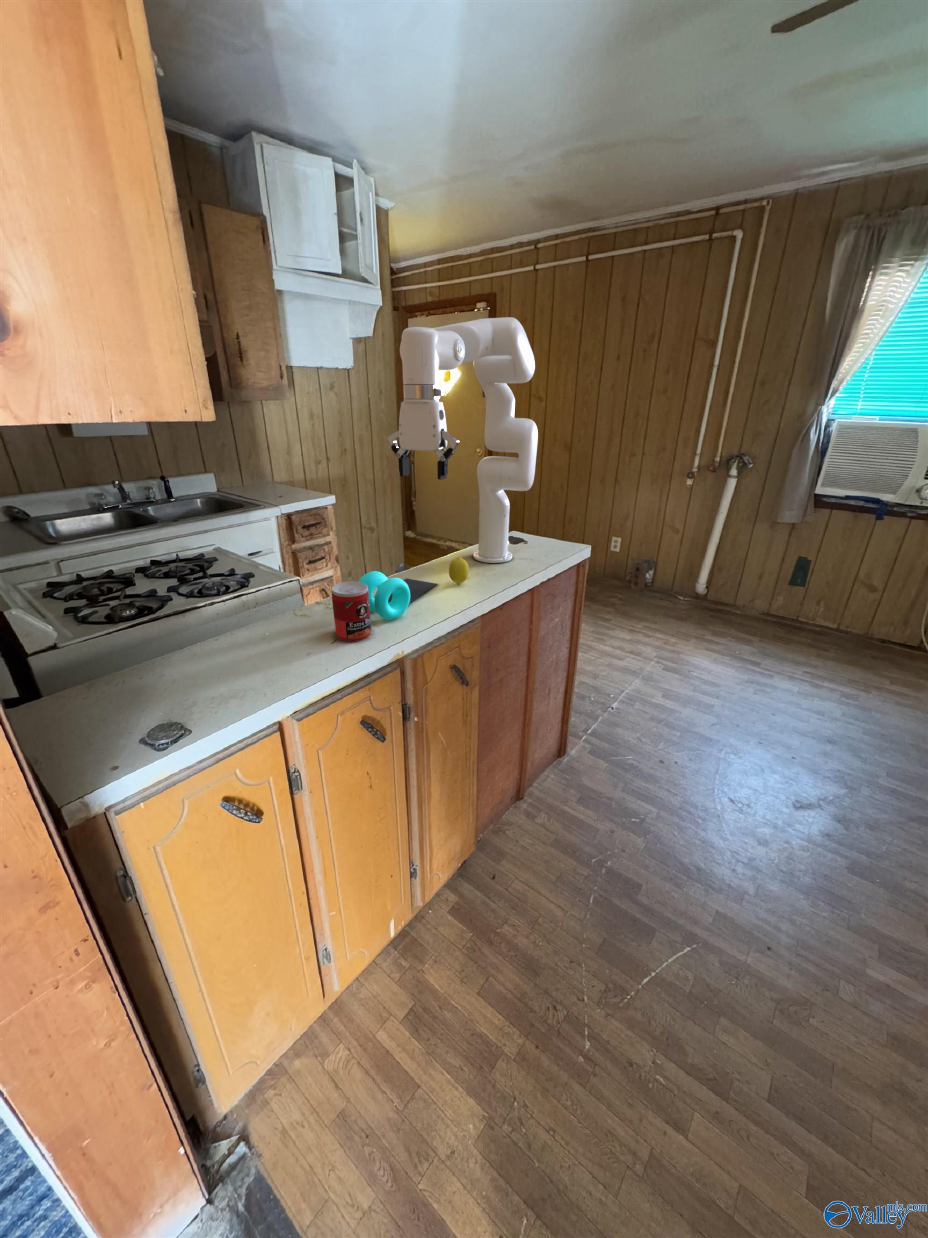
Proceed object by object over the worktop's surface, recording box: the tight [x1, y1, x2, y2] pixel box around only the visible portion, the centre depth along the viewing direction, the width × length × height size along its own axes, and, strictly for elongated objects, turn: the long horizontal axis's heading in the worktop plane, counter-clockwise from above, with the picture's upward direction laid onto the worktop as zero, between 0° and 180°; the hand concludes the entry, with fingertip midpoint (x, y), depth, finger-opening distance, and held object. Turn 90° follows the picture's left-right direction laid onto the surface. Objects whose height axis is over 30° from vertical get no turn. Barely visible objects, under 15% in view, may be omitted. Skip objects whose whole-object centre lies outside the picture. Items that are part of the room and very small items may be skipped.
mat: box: [388, 578, 439, 605], centre depth 134 cm, size 18×10×1 cm, turn 155°
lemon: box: [448, 556, 470, 586], centre depth 138 cm, size 6×6×8 cm
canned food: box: [330, 580, 372, 642], centre depth 108 cm, size 8×8×11 cm
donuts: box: [358, 570, 410, 621], centre depth 118 cm, size 10×10×10 cm
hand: (423, 477), depth 113 cm, fingers open, 9 cm apart
